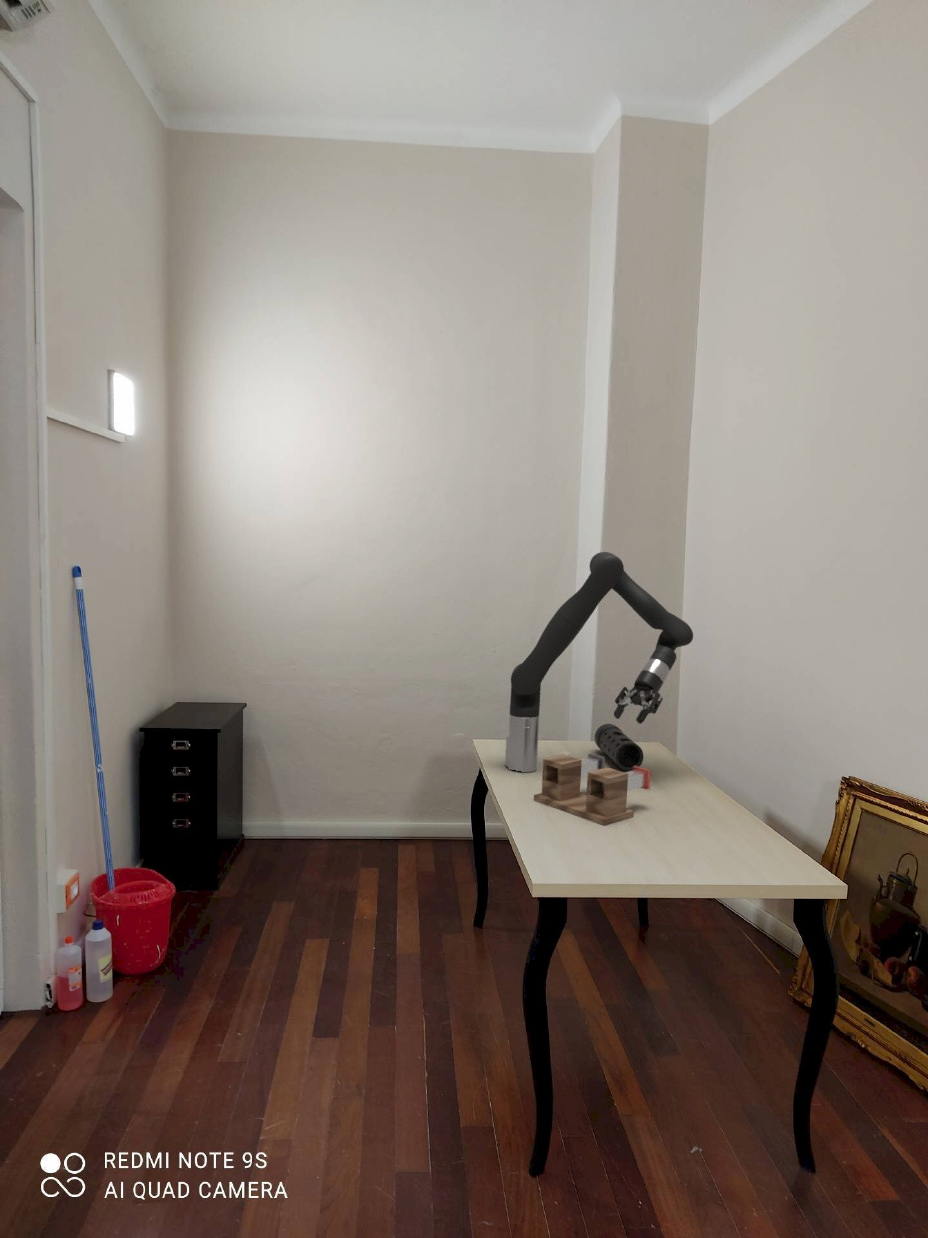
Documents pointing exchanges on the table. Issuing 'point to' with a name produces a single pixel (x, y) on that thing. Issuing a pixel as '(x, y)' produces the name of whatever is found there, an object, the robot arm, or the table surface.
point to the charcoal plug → (591, 764)
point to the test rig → (594, 804)
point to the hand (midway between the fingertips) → (627, 719)
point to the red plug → (637, 778)
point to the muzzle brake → (618, 747)
